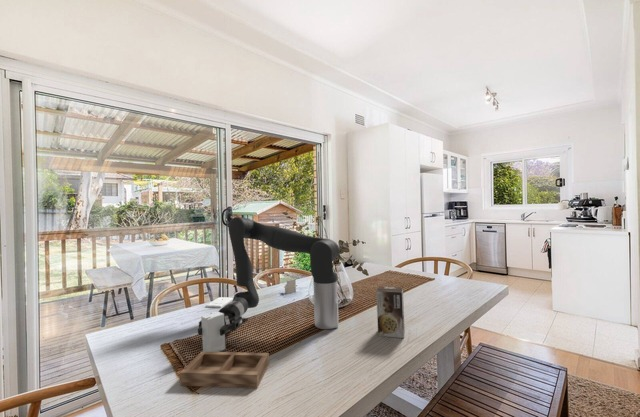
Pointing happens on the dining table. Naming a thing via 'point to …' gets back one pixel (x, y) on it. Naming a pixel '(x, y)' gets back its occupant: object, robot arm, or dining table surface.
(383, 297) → the grey brown upright block
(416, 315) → the dining table surface
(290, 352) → the dining table surface
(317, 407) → the dining table surface
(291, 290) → the architectural model
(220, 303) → the external hard drive
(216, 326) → the skincare box
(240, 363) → the wooden compartment tray
